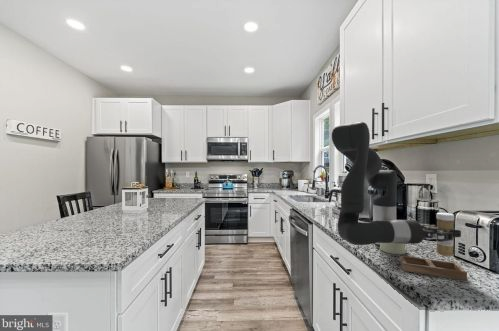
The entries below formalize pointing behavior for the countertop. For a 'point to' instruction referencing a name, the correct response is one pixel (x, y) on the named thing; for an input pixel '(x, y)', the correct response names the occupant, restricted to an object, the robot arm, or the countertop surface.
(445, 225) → the sprinkles bottle
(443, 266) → the holder
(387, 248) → the can
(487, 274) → the countertop surface
